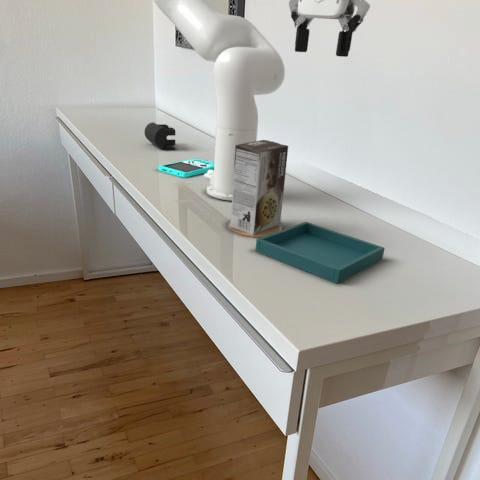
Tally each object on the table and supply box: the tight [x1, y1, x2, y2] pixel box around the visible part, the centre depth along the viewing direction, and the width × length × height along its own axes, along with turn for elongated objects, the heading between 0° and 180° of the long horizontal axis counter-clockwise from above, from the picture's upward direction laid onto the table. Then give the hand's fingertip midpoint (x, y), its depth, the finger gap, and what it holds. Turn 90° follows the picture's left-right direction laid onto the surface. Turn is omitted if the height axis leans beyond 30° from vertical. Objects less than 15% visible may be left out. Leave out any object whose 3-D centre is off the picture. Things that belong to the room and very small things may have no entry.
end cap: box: [143, 121, 176, 151], centre depth 163 cm, size 10×7×7 cm
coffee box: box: [230, 139, 289, 235], centre depth 99 cm, size 9×6×16 cm
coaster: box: [228, 221, 283, 238], centre depth 103 cm, size 11×11×1 cm
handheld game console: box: [157, 158, 214, 178], centre depth 141 cm, size 10×16×1 cm, turn 143°
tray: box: [254, 221, 385, 284], centre depth 92 cm, size 18×16×2 cm
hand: (320, 54), depth 97 cm, fingers open, 9 cm apart
